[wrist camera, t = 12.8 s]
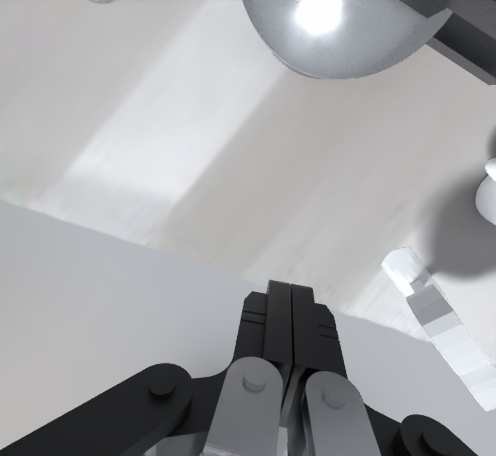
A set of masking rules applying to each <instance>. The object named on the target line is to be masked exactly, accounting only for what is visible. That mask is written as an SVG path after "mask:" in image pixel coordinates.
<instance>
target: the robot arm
mask: <svg viewBox="0 0 496 456" xmlns="http://www.w3.org/2000/svg"><path fill="white" fill-rule="evenodd" d="M90 1H92V2H95V3H109V2H111V1H114V0H90ZM279 426H280V427H285V428H287V430H288V431H287V432H288V442H287V445H286V448H285V451H284V456H478V455H477V454H476V453H474V452H473V451H472V450H471V449H470V448H469V447H468V446H467V445H466V444H464V443H463V442H462V441H461V440H460V439H459V438H458V437H457V436H455V435H454V434H453V433H452V432H451V431H450V430H449V429H448V428H446V427H445V426H444V425H442V424H441V423H439V422H438V421H436V420H434V419H432V418H430V417H427V416H424V415H409V416H407V417H406V418H405V419H404V420H403V421H402V423H399V422H397V421H395V420H393V419H391V418H389V417H387V416H385V415H383V414H381V413H379V412H377V411H375V410H373V409H372V408H370V407H369V406H367V405H366V404H365V403H364V402H363V399H362V397H361V395H360V393H359V391H358V390H357V388H356V387H355V386H354V385H353V384H352V383H351V382H350V381H349V380H348V378H347V374H346V369H345V365H344V360H343V356H342V351H341V346H340V342H339V340H338V333H337V330H336V324H335V320H334V316H333V315H332V313H331V312H330V310H329V309H328V308H327V306H326V305H323V304H318V303H315V302H314V295H313V289H312V288H311V287H306V286H300V285H295V284H291V285H290V284H289V283H284V282H279V281H273V280H269V283H268V287H267V292H266V294H264V293H258V292H253V291H252V292H251V293H250V294H249V295H248V296H247V297H246V298H245V300H244V305H243V310H242V315H241V321H240V326H239V330H238V336H237V340H236V346H235V351H234V356H233V359H232V361H231V363H230V365H229V366H228V367H227V368H226V369H225V370H224V371H222V372H221V373H219V374H217V375H214V376H211V377H204V378H193V379H192V378H191V376H190V375H189V373H188V372H187V371H186V370H185V369H183V368H182V367H180V366H177V365H175V364H169V363H161V364H156V365H153V366H150V367H148V368H146V369H144V370H142V371H141V372H139V373H137V374H135V375H133V376H132V377H130V378H128V379H126V380H125V381H123V382H121V383H119V384H117V385H116V386H114V387H112V388H110V389H108V390H107V391H105V392H103V393H101V394H99V395H98V396H96V397H94V398H92V399H91V400H89V401H87V402H85V403H84V404H82V405H80V406H78V407H76V408H75V409H73V410H71V411H69V412H67V413H66V414H64V415H62V416H60V417H58V418H57V419H55V420H53V421H51V422H49V423H48V424H46V425H44V426H42V427H41V428H39V429H37V430H35V431H33V432H32V433H30V434H28V435H26V436H25V437H23V438H21V439H19V440H17V441H15V442H14V443H12V444H10V445H8V446H7V447H5V448H3V449H1V450H0V456H276V453H277V442H278V431H279Z"/></svg>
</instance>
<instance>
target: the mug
mask: <svg viewBox="0 0 496 456" xmlns="http://www.w3.org/2000/svg"><path fill="white" fill-rule="evenodd" d="M485 169H486V171H487V173H488V174H489V175H488V176H487V177H486V178H485V179H484V180H483V181H482V183H481V184H480V186H479V188H478V190H477V193H476V197H475V203H476V207H477V210H478V212H479V213H480V214H481V215H482V216H483V217H484V218H485V219H487V220H488V221H490V222H491V223H493V224H494V225H496V159H495V158H494V159H490V160H488V161H487V162H486V163H485Z"/></svg>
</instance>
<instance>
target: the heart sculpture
mask: <svg viewBox="0 0 496 456" xmlns="http://www.w3.org/2000/svg"><path fill="white" fill-rule="evenodd" d="M381 266H382V267H383V268H384V270H385V271H386V272H387V274H388V275H389V276H390V277H391V279H392V280H393V281H394V283H395V284H396V285H397V287H398V288H399V289H400V291H401V292H402V293H403V294H404V296H405V297H406V300H407V302H408V304H409V306H410V308H411V309H412V311H413V313H414V315H415V316H416V318H417V320H418V321H419V323H420V324H421V326H422V328H423V329H424V331H425V332H426V333H427V335H428V336H429V338H430V339H431V341H432V342H433V343H434V345H435V346H436V347H437V349H438V350H439V352H440V353H441V354H442V356H443V357H444V358H445V360H446V361H447V362H448V364H449V365H450V367H451V368H452V369H453V370H454V372H455V373H456V374H457V375H459V376H460V378H461V379H462V381H463V382H464V384H465V385H466V387H467V388H468V389H469V391H470V392H471V393H472V395H473V396H474V398H475V399H476V400H477V401H478V403H479V404H480V405H481V406H482V407H483V408H484V410H485V411H489V410H492V409H495V408H496V368H495V367H494V365H493V364H492V363H491V361H490V359H489V358H488V356H487V355H486V354H485V352H484V351H483V349H482V348H481V347H480V345H479V344H478V343H477V341H476V340H475V338H474V337H473V336H472V334H471V333H470V332H469V330H468V329H467V328H466V326H465V325H464V324H463V322H462V321H461V320H460V318H459V317H458V315H457V314H456V313H455V311H454V310H453V309H452V308H451V306H450V305H449V304H448V302H447V300H448V298H447V297H446V295H445V294H444V293H443V291H442V290H441V288H440V287H439V286H438V284H437V283H436V282H435V280H434V279H433V277H432V276H431V275H430V273H429V272H428V270H427V269H426V268H425V266H424V265H423V263H422V262H421V261H420V259H419V258H418V256H417V255H416V254H415V252H414V251H413V249H412V248H411V247H407V248H400V249H396V250H393V251H391V252H390V253H389V254H388V255H387V256H386V257H385V259H384V260H383V261H382V263H381Z"/></svg>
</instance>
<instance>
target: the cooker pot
mask: <svg viewBox="0 0 496 456" xmlns="http://www.w3.org/2000/svg"><path fill="white" fill-rule="evenodd" d="M425 44H427V45H428V46H430V47H431V48H433V49H435V50H436V51H438V52H439V53H441V54H442V55H444V56H445V57H447V58H448V59H450V60H451V61H453V62H454V63H456V64H457V65H459V66H460V67H462V68H464V69H465V70H467V71H468V72H470V73H471V74H473V75H474V76H476V77H477V78H479V79H480V80H482V81H483V82H485V83H486V84H488V85H496V40H495V39H494V38H492V37H491V36H489V35H488V34H486V33H485V32H483V31H481V30H480V29H478V28H477V27H475V26H474V25H472V24H471V23H469V22H468V21H466V20H465V19H463V18H462V17H460V16H459V15H457V14H456V13H454V12H453V13H452V14H451V16H450V17H449V18H448V20H447V21H446V22H445V24H444V25H443V26H442V27H441V28H440V29H439V30H438V31H437V32H436V34H435V35H434V36H433V37H432V38H431V39H430V40H429V41H427V42H426V43H425ZM272 53H273V52H272ZM273 54H274V53H273ZM274 55H275V54H274ZM275 56H276V55H275ZM276 57H277V56H276ZM277 58H278V57H277ZM278 59H279V58H278ZM279 60H280V61H281V62H282V63H283V64H284V65H285V66H287V67H288V68H290V69H291V70H293V71H295V72H297V73H299V74H301V75H304V76H307V77H311V78H317V79H324V78H318V77H314V76H311V75H308V74H305V73H302V72H300V71H298V70H296V69H294V68H292V67H291V66H289V65H288V64H286V63H285V62H283V61H282V60H281V59H279Z"/></svg>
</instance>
